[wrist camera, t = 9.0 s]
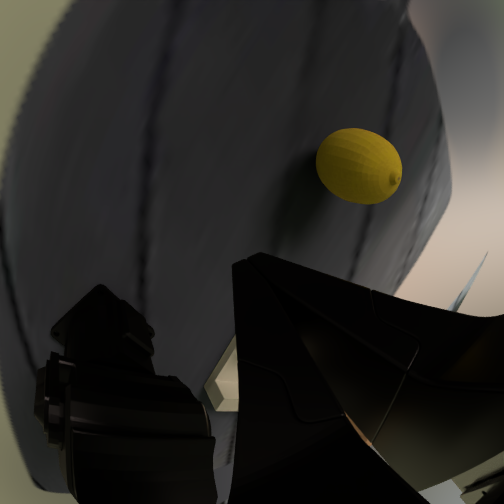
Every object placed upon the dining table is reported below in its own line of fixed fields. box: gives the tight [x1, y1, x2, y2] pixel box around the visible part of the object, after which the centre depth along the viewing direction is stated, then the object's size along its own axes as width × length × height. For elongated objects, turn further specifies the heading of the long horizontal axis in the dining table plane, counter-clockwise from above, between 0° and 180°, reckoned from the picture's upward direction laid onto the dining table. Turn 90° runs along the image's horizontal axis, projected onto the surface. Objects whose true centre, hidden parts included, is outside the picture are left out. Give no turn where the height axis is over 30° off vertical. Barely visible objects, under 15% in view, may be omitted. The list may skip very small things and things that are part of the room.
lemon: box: [316, 128, 402, 204], centre depth 20 cm, size 6×6×8 cm
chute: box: [204, 335, 239, 411], centre depth 32 cm, size 19×10×4 cm, turn 59°
